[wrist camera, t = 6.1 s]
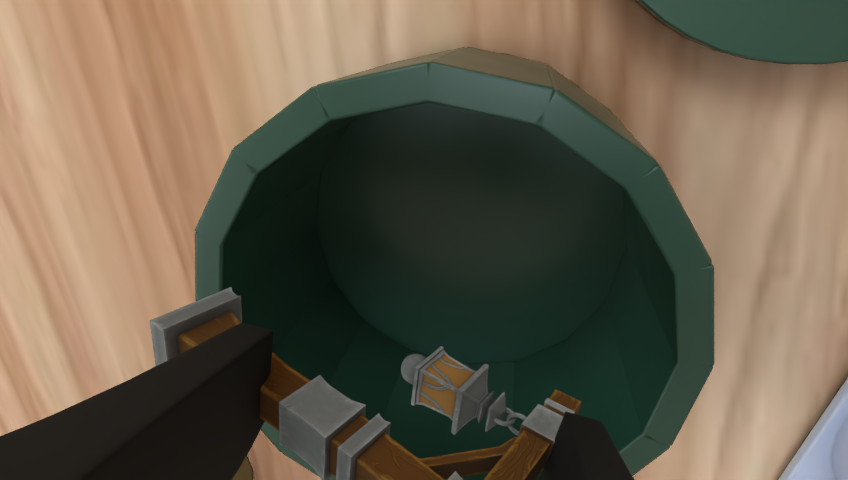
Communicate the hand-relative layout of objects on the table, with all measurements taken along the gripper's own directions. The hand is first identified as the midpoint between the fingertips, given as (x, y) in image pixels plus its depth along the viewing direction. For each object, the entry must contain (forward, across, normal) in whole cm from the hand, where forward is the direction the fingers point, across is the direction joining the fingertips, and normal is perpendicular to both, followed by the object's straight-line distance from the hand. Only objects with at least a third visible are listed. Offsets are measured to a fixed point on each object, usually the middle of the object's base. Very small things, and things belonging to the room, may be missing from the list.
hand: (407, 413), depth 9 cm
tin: (+9, 0, 0) cm, 9 cm away
